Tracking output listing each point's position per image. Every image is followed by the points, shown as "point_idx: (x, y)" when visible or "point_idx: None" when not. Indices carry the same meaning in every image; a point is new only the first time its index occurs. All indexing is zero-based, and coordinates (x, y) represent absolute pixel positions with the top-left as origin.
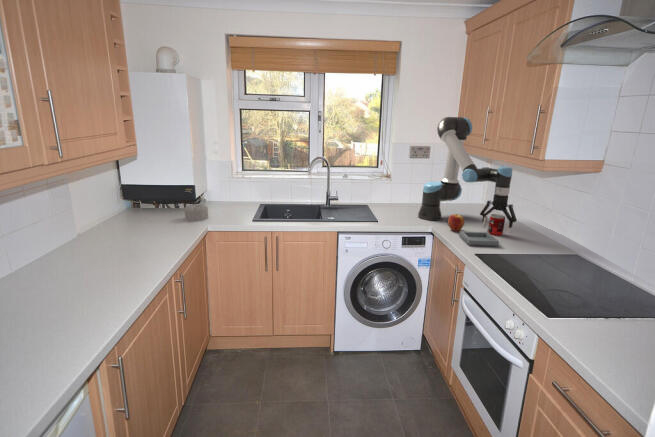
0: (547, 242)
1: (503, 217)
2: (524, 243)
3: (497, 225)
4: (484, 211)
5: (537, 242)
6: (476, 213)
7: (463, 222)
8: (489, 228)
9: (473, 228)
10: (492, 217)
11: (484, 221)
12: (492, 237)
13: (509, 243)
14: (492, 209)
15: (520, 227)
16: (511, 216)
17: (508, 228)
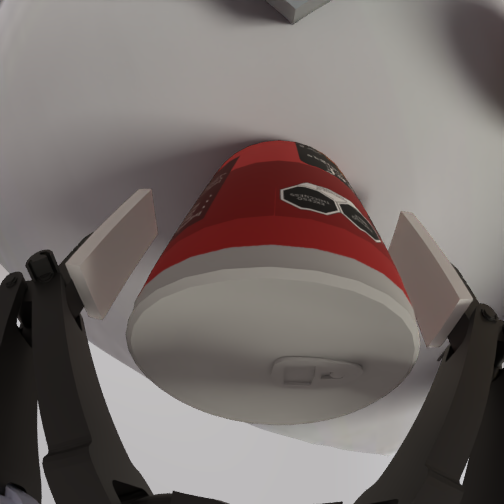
0: None
1: (129, 339)
2: (39, 150)
3: (226, 183)
4: (501, 382)
5: (34, 233)
6: (414, 418)
7: None
8: (340, 174)
9: (461, 229)
10: (363, 262)
11: (437, 256)
12: None
13: (82, 46)
14: (426, 486)
15: None
16: (1, 337)
17: (112, 220)
